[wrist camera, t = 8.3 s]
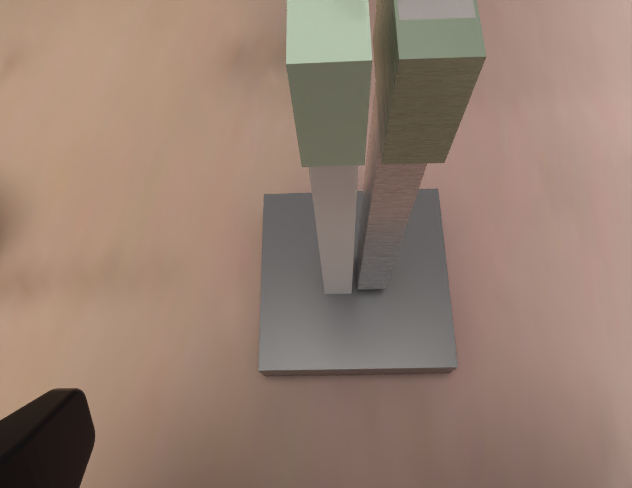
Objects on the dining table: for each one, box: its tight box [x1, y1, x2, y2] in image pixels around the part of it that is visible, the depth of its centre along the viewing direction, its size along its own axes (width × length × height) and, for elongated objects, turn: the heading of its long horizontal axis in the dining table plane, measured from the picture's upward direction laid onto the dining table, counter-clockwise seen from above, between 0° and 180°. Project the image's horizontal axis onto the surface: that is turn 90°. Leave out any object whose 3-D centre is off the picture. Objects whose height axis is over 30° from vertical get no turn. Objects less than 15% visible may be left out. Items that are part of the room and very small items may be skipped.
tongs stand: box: [258, 0, 458, 376], centre depth 14 cm, size 7×7×14 cm
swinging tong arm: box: [356, 0, 486, 290], centre depth 13 cm, size 3×1×12 cm, turn 1°
